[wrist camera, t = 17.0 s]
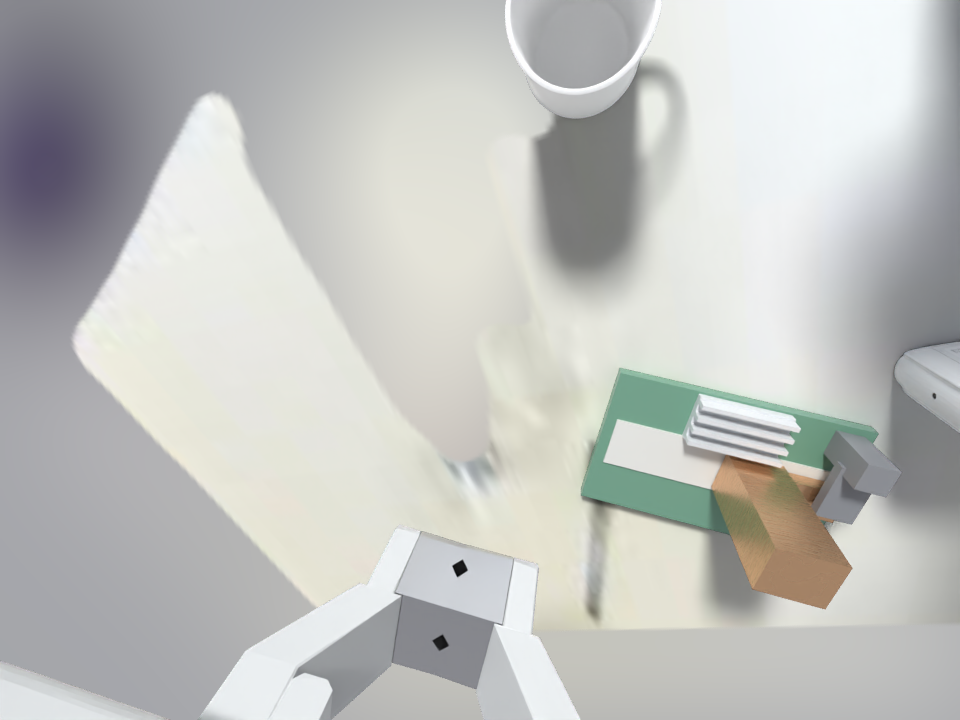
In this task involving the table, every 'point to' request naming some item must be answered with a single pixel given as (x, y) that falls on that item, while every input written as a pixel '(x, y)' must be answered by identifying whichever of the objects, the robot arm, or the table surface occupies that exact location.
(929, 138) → the table surface
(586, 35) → the mug
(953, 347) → the photo printer
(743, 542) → the tall wooden block
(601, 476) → the board
